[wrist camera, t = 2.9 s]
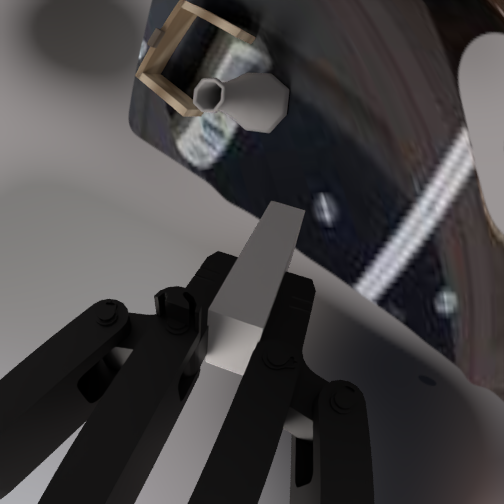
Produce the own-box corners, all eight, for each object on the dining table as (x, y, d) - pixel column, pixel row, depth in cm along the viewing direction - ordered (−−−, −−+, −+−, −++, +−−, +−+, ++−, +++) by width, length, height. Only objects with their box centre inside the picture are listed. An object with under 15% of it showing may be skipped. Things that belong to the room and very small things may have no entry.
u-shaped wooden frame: (152, 76, 35) (130, 75, 31) (197, 5, 28) (176, -4, 24) (201, 116, 34) (178, 116, 30) (256, 37, 27) (237, 27, 24)
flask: (274, 144, 31) (226, 150, 23) (222, 118, 33) (165, 119, 25) (301, 86, 28) (261, 69, 19) (245, 63, 29) (191, 46, 21)
